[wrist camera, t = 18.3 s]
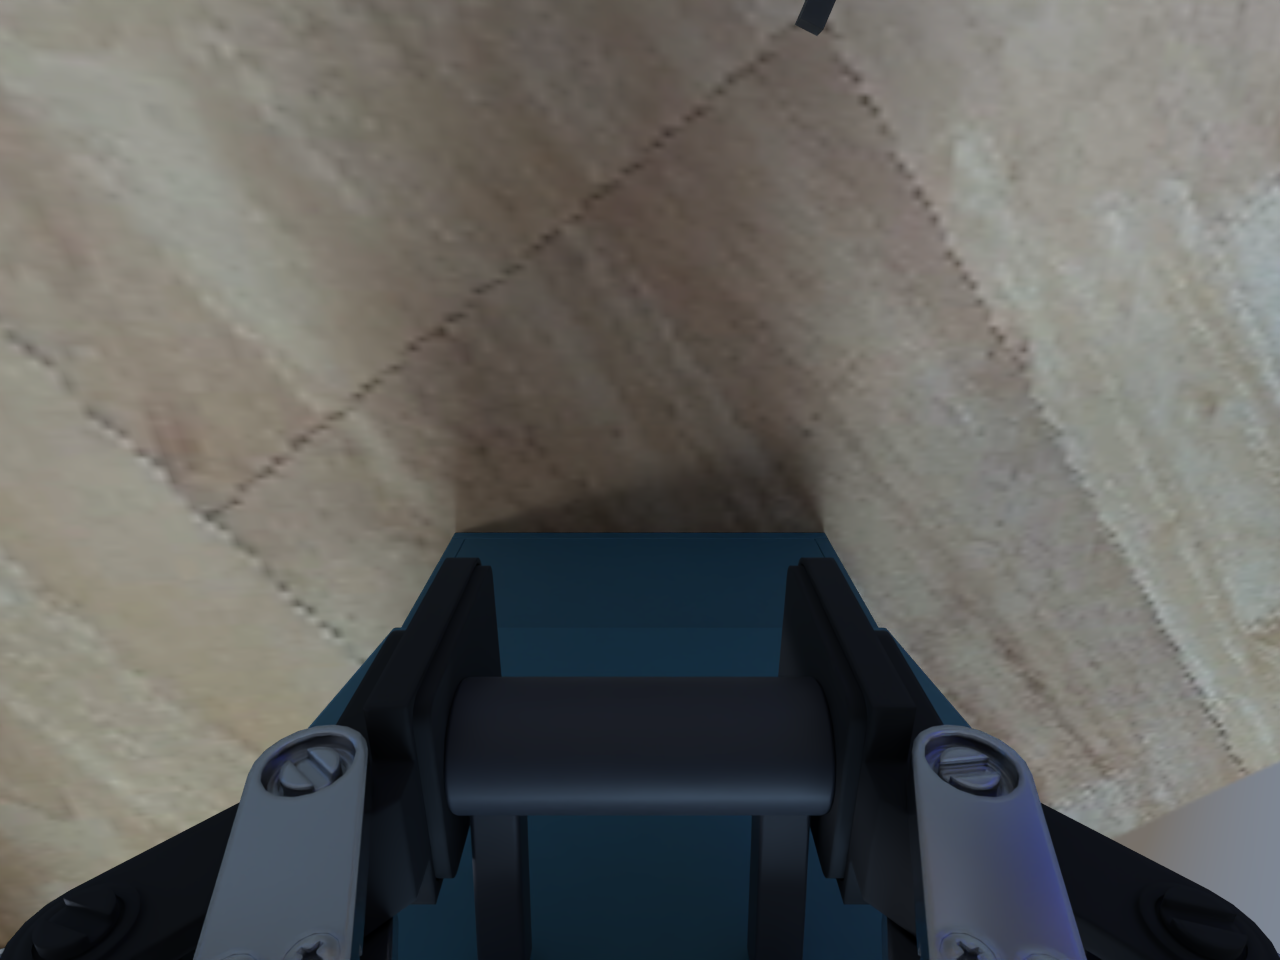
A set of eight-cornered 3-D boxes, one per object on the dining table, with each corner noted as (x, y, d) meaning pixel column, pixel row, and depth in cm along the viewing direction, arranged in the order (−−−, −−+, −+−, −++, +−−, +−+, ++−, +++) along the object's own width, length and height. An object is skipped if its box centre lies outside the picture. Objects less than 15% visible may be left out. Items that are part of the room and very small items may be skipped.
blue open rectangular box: (798, 783, 36) (837, 925, 29) (481, 783, 36) (442, 925, 29) (824, 532, 30) (881, 630, 23) (454, 532, 30) (398, 629, 23)
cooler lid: (1317, 1193, 8) (1416, 790, 7) (-39, 1195, 8) (-138, 791, 7) (884, 649, 23) (896, 489, 22) (395, 649, 23) (383, 489, 22)
